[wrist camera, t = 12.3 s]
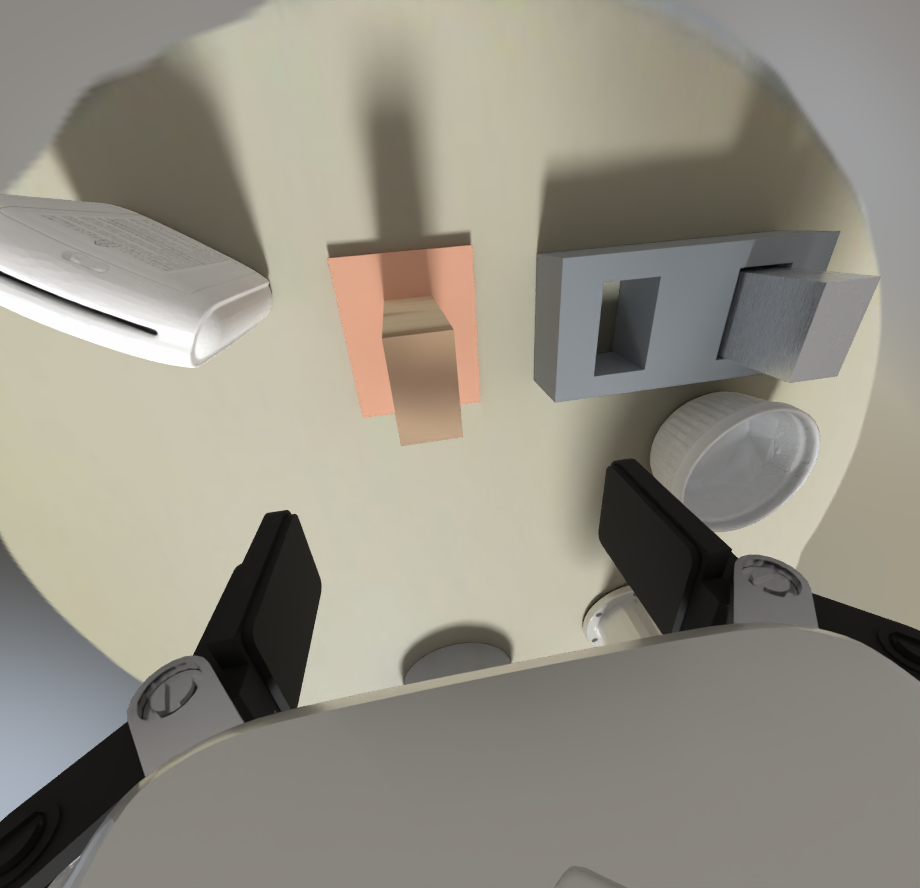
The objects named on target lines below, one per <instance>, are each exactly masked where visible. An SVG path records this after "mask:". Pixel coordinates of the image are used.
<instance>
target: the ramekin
mask: <svg viewBox="0 0 920 888" xmlns="http://www.w3.org/2000/svg"><path fill="white" fill-rule="evenodd" d="M819 449H820V433H819V429H818V426H817V424H816V422H815V421H814V420H813V418H812V417H811V416H810V415H809V414H807V413H806V412H804V411H802V410H800V409H798V408H796V407H794V406H792V405H789V404H786V403H781V402H770V401H767V400H764V399H760V398H757V397H753V396H750V395H746V394H742V393H735V392H713V393H710V394H706V395H703V396H701V397H698V398H695V399H693V400H691V401H689V402H687V403H685V404H684V405H682V406H681V407H679V408H678V409H677V410H676V411H674V412H673V413H672V414H671V415H670V416H669V417H668V418H667V419H666V420H665V422H664V423H663V424H662V425H661V427H660V428H659V430H658V432H657V434H656V436H655V438H654V440H653V443H652V447H651V452H650V467H651V471H652V473H653V476H654V478H656V479H657V480H658V481H659V482H660V483H661V484H662V485H663V486H664V487H665V488H666V489H667V490H669V491H670V492H671V493H672V494H673V495H674V496H675V497H676V498H677V499H678V500H679V501H680V502H682V503H683V504H684V505H685V506H686V507H687V508H688V509H689V510H690V511H691V512H692V513H693V514H694V515H696V516H697V517H698V518H699V519H700V520H701V521H702V522H703V523H704V524H705V525H706V526H707V527H709V528H710V529H711V530H712V531H713V532H726V531H732V530H736V529H740V528H743V527H746V526H749V525H751V524H753V523H756V522H758V521H760V520H761V519H763V518H765V517H767V516H768V515H770V514H771V513H773V512H774V511H776V510H777V509H778V508H780V507H781V506H782V505H783V504H785V503H786V502H787V501H788V500H789V499H790V498H791V497H792V496H793V495H794V494H795V493H796V492H797V491H798V490H799V489H800V487H801V486H802V485H803V483H804V482H805V481H806V479H807V478H808V476H809V474H810V473H811V471H812V469H813V467H814V465H815V463H816V460H817V457H818V454H819Z"/></svg>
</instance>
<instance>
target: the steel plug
mask: <svg viewBox="0 0 920 888" xmlns="http://www.w3.org/2000/svg"><path fill="white" fill-rule="evenodd" d="M880 278H881V277H880V276H870V275H860V274H850V273H840V272H829V271H819V270H809V269H799V268H789V267H779V266H769V265H763V266H754V267H744V268H740V271H739V275H738V278H737V282H736V286H735V290H734V293H733V297H732V301H731V305H730V308H729V312H728V316H727V320H726V323H725V327H724V331H723V335H722V338H721V342H720V346H719V350H718V353H717V355H718V356H721V357H723V358H726V359H728V360H731V361H733V362H736V363H739V364H741V365H744V366H746V367H749V368H752V369H754V370H757V371H759V372H762V373H764V374H767V375H770V376H772V377H775V378H777V379H780V380H782V381H785V382H788V383H793V382H800V381H807V380H814V379H821V378H828V377H835V376H837V375H838V373H839V371H840V369H841V366H842V364H843V362H844V360H845V357H846V355H847V353H848V350H849V348H850V346H851V344H852V341H853V339H854V337H855V334H856V332H857V330H858V328H859V325H860V323H861V321H862V319H863V316H864V314H865V312H866V309H867V307H868V305H869V303H870V300H871V298H872V296H873V293H874V291H875V289H876V287H877V284H878V282H879V280H880Z"/></svg>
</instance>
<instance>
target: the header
mask: <svg viewBox="0 0 920 888" xmlns="http://www.w3.org/2000/svg"><path fill="white" fill-rule="evenodd" d="M839 234H840V231H769V232H759V233H748V234H738V235H727V236H717V237H706V238H696V239H686V240H675V241H665V242H654V243H644V244H633V245H623V246H613V247H602V248H592V249H581V250H571V251H561V252H550V253H540V254H537V266H536V308H535V350H534V381H535V382H536V383H537V384H538V385H539V386H540V387H541V388H542V389H543V390H544V391H545V393H546V394H547V395H548V396H549V397H550V398H551V399H552V400H553V401H554V402H563V401H570V400H577V399H584V398H592V397H599V396H606V395H613V394H621V393H628V392H635V391H642V390H650V389H657V388H664V387H671V386H679V385H686V384H693V383H700V382H707V381H715V380H722V379H729V378H736V377H744V376H751V375H758V374H764V373H762V372H759V371H757V370H754V369H752V368H749V367H746V366H744V365H741V364H739V363H736V362H733V361H731V360H728V359H726V358H723V357H721V356H718V355H717V353H718V350H719V346H720V342H721V338H722V335H723V331H724V327H725V323H726V320H727V316H728V312H729V308H730V305H731V301H732V297H733V293H734V290H735V286H736V282H737V278H738V275H739V271H740V268H744V267H754V266H763V265H769V266H779V267H789V268H799V269H809V270H819V271H826V269H827V266H828V263H829V261H830V258H831V255H832V253H833V250H834V247H835V244H836V242H837V239H838V236H839ZM612 281H621V284H620V292H619V300H618V308H617V316H616V323H615V331H614V339H613V347H612V352H606V353H598V354H596V351H597V342H598V332H599V323H600V314H601V304H602V295H603V285H604V282H612Z"/></svg>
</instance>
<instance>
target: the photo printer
mask: <svg viewBox="0 0 920 888" xmlns="http://www.w3.org/2000/svg"><path fill="white" fill-rule="evenodd" d="M268 285H269V281H268V280H267V279H266V278H264V277H263V276H262V275H260V274H259V273H257V272H256V271H254V270H252V269H251V268H249V267H247V266H245V265H244V264H242V263H240V262H238V261H236V260H234V259H232V258H231V257H228V256H226V255H224V254H222V253H220V252H218V251H216V250H214V249H212V248H210V247H208V246H206V245H204V244H202V243H200V242H198V241H196V240H194V239H192V238H190V237H188V236H186V235H184V234H182V233H180V232H178V231H176V230H173V229H171V228H169V227H167V226H165V225H163V224H161V223H159V222H157V221H154V220H152V219H150V218H148V217H145V216H143V215H141V214H139V213H136V212H134V211H131V210H128V209H125V208H122V207H119V206H116V205H112V204H107V203H97V202H84V201H72V200H62V199H51V198H39V197H28V196H18V195H7V194H0V306H3V307H5V308H7V309H9V310H11V311H14V312H16V313H18V314H20V315H22V316H25V317H27V318H30V319H32V320H34V321H37V322H39V323H42V324H44V325H47V326H49V327H52V328H54V329H57V330H59V331H62V332H65V333H67V334H70V335H73V336H75V337H78V338H81V339H84V340H87V341H90V342H92V343H95V344H98V345H101V346H104V347H107V348H110V349H114V350H117V351H120V352H123V353H126V354H130V355H133V356H137V357H140V358H144V359H147V360H151V361H155V362H159V363H164V364H169V365H175V366H182V367H190V368H197V367H200V366H202V365H203V364H205V363H206V362H207V361H209V360H210V359H212V358H213V357H215V356H216V355H218V354H219V353H220V352H222V351H223V350H225V349H226V348H228V347H229V346H230V345H232V344H233V343H235V342H236V341H238V340H239V339H240V338H242V337H243V336H245V335H246V334H247V333H249V332H250V331H251V330H253V329H254V328H255V327H256V323H257V322H259V321H260V320H262V319H263V318H264V317H265V316H266V315H267V314H268V313H269V311H270V309H271V305H272V294H271V290H270V287H269V286H268Z"/></svg>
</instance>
